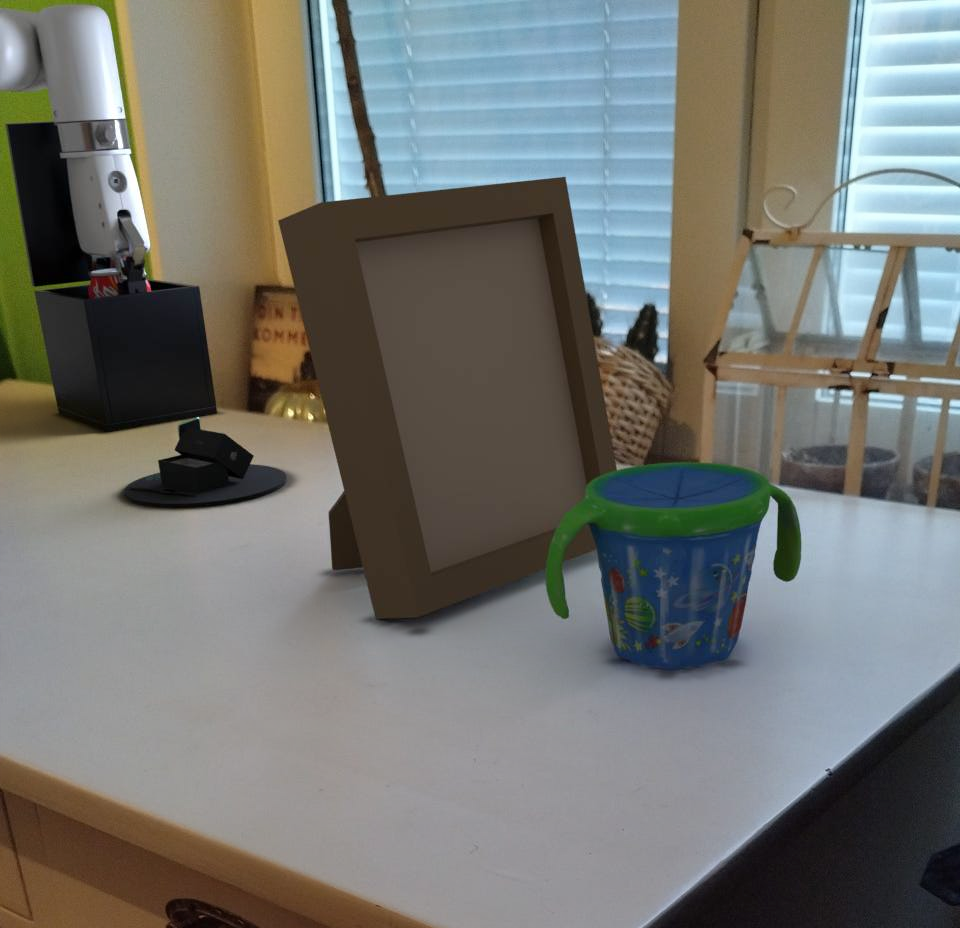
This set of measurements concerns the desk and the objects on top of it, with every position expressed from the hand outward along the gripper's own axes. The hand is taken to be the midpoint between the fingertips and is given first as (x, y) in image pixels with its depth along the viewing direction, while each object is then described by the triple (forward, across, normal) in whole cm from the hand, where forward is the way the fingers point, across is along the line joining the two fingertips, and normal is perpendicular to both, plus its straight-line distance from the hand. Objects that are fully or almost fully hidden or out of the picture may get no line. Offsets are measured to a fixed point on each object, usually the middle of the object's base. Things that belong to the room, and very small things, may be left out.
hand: (123, 316), depth 150 cm
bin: (+11, +1, 0) cm, 11 cm away
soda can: (+7, 0, 0) cm, 7 cm away
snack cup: (+11, -100, +8) cm, 101 cm away
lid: (-12, +8, 0) cm, 14 cm away
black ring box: (+11, -39, +10) cm, 42 cm away
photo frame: (+11, -77, +8) cm, 78 cm away
